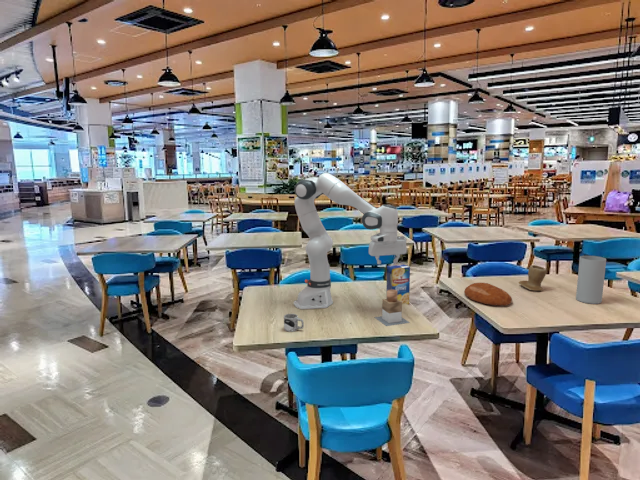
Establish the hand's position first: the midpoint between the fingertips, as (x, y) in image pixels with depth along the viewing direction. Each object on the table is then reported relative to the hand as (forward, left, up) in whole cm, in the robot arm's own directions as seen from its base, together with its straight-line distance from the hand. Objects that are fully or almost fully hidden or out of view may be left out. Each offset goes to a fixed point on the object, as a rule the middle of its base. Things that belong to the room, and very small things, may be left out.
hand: (387, 263), depth 215 cm
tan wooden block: (-3, -10, -21) cm, 24 cm away
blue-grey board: (-3, -10, -28) cm, 30 cm away
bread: (+68, +4, -28) cm, 73 cm away
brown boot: (+108, +10, -28) cm, 112 cm away
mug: (-51, -1, -28) cm, 58 cm away
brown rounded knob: (-3, -10, -16) cm, 20 cm away
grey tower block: (-3, -10, -26) cm, 29 cm away
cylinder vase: (+118, -20, -28) cm, 123 cm away
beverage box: (+14, +14, -28) cm, 34 cm away
